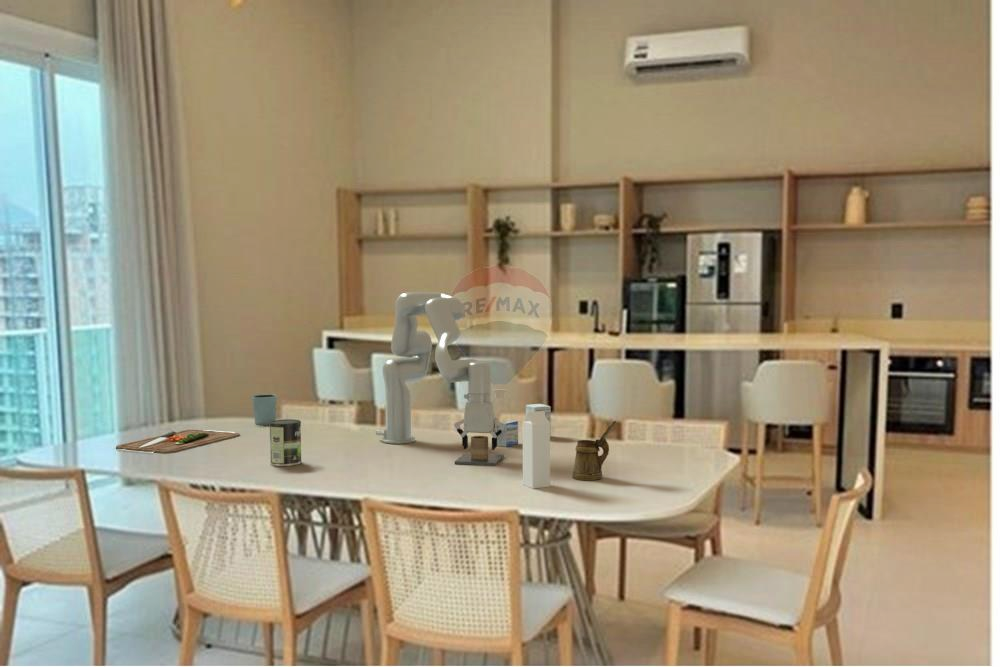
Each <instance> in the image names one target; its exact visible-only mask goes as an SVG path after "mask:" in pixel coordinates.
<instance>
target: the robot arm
mask: <svg viewBox="0 0 1000 667" xmlns="http://www.w3.org/2000/svg"><path fill="white" fill-rule="evenodd" d="M394 305H395V306H394V310H395V311H394V313H395V318H394V319H395V320H394V325H393V332H392V336H391V344H390V349H391V353H392V354H393V355H395V356H397V357H396V358H390V359H388V360H386V361H385V362H384V364H383V365H382V376H383V377H382V378H383V381H384V389H385V390H384V391H385V392H384V394H385V429H376V430H375V435H376V436H383V437H382V438H381V441H382V443H384V444H390V445H391V444H393V445H397V444H398V445H402V444H409V443H414V442H416V437H415V436H412V395H411V391H410V389H409V387H408V386H407V383H416V382H421V381H423V380H425V378H426V377H427V374H428V371H429V365H430V360H431V355H432V349H433V341H432V337H431V335H430V333H428V331H425V330H420V329H419V330H418V326H419V321H418V317H417V316H426V317H427V319H428V322H429V324H430V325H431V328H432V330H433V333H434V334H435V336H436V339H437V343H436V346H435V350H434V357H435V358H434V359H435V364H436V367H437V369H438V371H439V373H440V375H441V377H442V378H443V380H445V382H448V383H452V384H453V383H462V382H464V383H465V382H467V385H468V386H467V387H468V388H467V390H468V391H467V394H466V393H465V394H463V398H464V399H467V401H466V402H465V406H464V412H463V419H460V420H459V421H456V422H455V423H454V424H453V425H454V428H455V430H456V431H457V432H456V433H458V434H459V435H460V437H461V440H462V442H461V444H462V445H461V446H462V447H463V449H464V450H466V449H467V448H468V446H469V440H468V439H469V437H468V435H467V434H468V433H474V434H475V433H478V434H479V433H481V434H488V433H489V434H490V435H491V436H492V437H491V450H492V451H495V450H496V448H498V446H497V437H498V436H499V435H500V434H501V433H502V431H503V429H504V427H505V424H503V423H501V422H502V421H500V420H497V419H496V417H495V408H494V407H495V406H494V404H493V401H492V400H491V396H492V395H491V394H492V393H491V391H492V388H491V386H492V383H491V382H492V381H491V378H492V377H491V375H492V374H491V371H492V370H491V368H492V367H491V363H489V362H488V361H483V360H480V361H479V360H477V359H473V358H466V359H453V360H452V358H451V355H450V353H449V351H448V346H450V345H451V344H453V343H454V342H456V341H458V339H459V338H460V337H461V332H462V331H461V329H460V327H459V325H458V323H457V321H459V320H461V319H462V318H463V317H464V313H465V307H464V305H463V303H462V301H461V300H460V299H459V298H457V297H455V296H453V295H449V294H446V293H443V292H440V291H439V292H437V291H436V292H435V291H411V292H404V293H403V292H402V293H401V294H400V295H399V296H398V297H397V298H396V300H395V304H394ZM461 425H463V428H461ZM496 425H498V426H499V427H500V429H499V431H498V432H497V430H495V429H496Z"/></svg>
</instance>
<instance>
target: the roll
mask: <svg viewBox="0 0 1000 667" xmlns="http://www.w3.org/2000/svg"><path fill="white" fill-rule="evenodd" d="M470 453H471V458H472V459H477V460H482V459H487V458H488V454H489V437H488V436H486V435H473V436H471V437H470Z"/></svg>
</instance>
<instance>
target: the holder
mask: <svg viewBox="0 0 1000 667" xmlns="http://www.w3.org/2000/svg"><path fill="white" fill-rule="evenodd" d="M504 458H505V454H500V453H488V458H487V459H482V460H477V459H472V458H471V452H470V453H468V452H464V453H463V454H461V455H460V456H459V457H458V458H457V459H456V460H455V461H454V465H463V466H466V465H467V466H487V467H490V466H493V467H495V466H496V467H497V465H499V463H500V462H501V461H502V460H503V459H504Z"/></svg>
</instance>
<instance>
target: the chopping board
mask: <svg viewBox="0 0 1000 667" xmlns="http://www.w3.org/2000/svg"><path fill="white" fill-rule="evenodd" d="M238 437H241V433H239V432H235V431H223V430H221V431H220V430H209V429H186V430H180V431H174V430H173V431H170V432H168V433H165V434H162V435H158V436H153V437H148V438H145V439H144V438H143V439H140V440H135V441H132V442H131V441H130V442H127V443H123V444H118V445H116V446H115V449H116V451H117V452H122V453H123V452H125V453H135V454H136V453H137V454H145V455H146V454H148V455H153V454H155V453H156V454H174V453H178V452H183V451H186V450H190V449H194V448H199V447H202V446H206V445H210V444H215V443H218V442H221V441H227V440H231V439H234V438H238Z"/></svg>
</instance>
